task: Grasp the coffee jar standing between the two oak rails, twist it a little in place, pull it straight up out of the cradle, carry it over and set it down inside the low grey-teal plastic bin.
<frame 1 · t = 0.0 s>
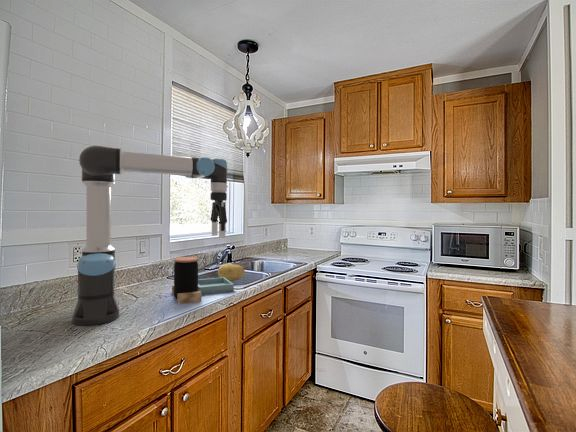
hand: (218, 236, 154), 28 cm above the worktop, fingers open, 13 cm apart
bin: (212, 288, 166), on the worktop
coffee jar: (186, 297, 150), on the worktop
potato: (230, 281, 185), on the worktop
oak cradle: (186, 296, 150), on the worktop
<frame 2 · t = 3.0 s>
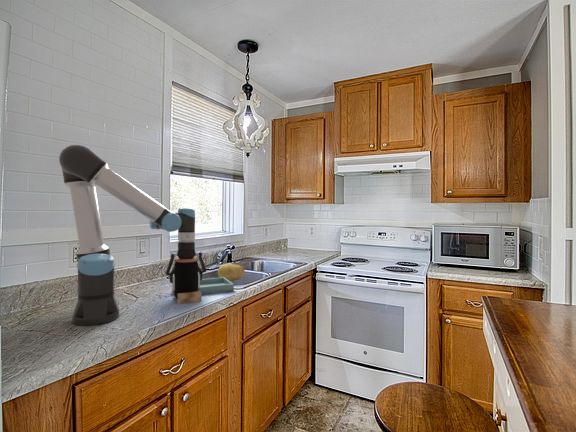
hand: (186, 288, 150), 4 cm above the worktop, fingers closed on coffee jar, 11 cm apart
coffee jar: (186, 297, 150), on the worktop, touching gripper
everything else where it was.
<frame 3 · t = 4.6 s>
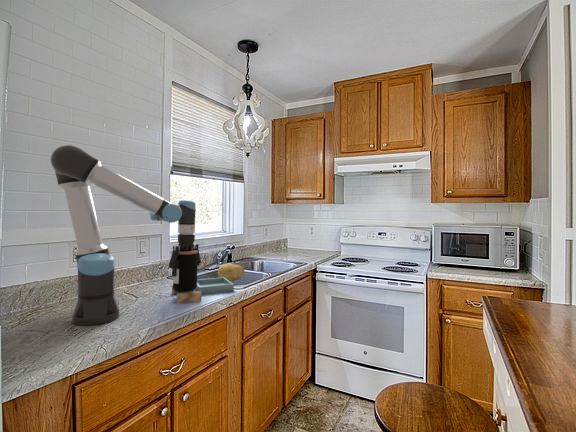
hand: (185, 281, 150), 8 cm above the worktop, fingers closed on coffee jar, 11 cm apart
coffee jar: (184, 289, 150), point 3 cm above the worktop, touching gripper
everything else where it was.
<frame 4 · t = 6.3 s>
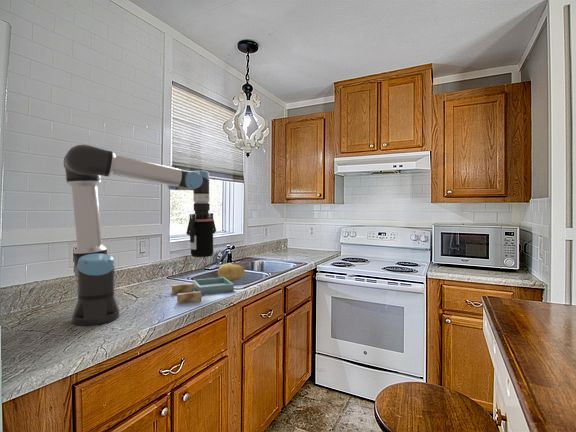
hand: (202, 247, 158), 22 cm above the worktop, fingers closed on coffee jar, 11 cm apart
coffee jar: (202, 256, 158), point 18 cm above the worktop, touching gripper
everything else where it was.
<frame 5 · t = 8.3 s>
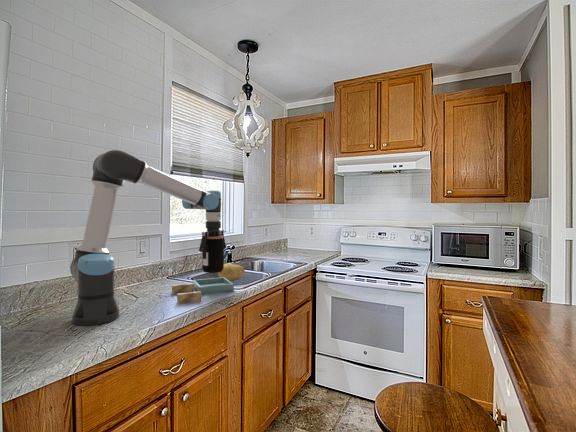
hand: (213, 263, 166), 13 cm above the worktop, fingers closed on coffee jar, 11 cm apart
coffee jar: (213, 271, 166), point 9 cm above the worktop, touching gripper
everything else where it was.
when the fingers open (7 cm above the worktop, at t = 10.0 s): coffee jar drops 2 cm, resting on bin.
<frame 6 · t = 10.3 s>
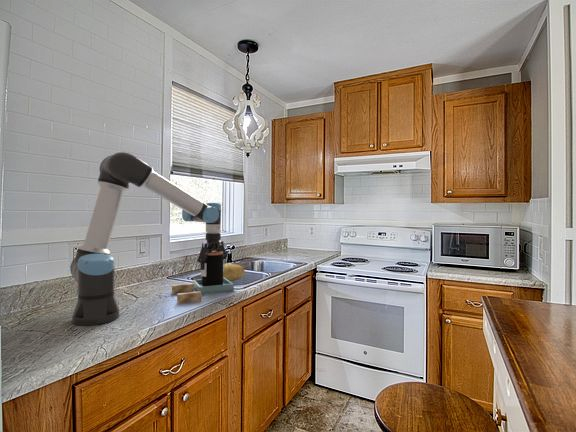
hand: (212, 273, 166), 8 cm above the worktop, fingers open, 13 cm apart
coffee jar: (212, 287, 166), point 1 cm above the worktop, touching bin
everything else where it was.
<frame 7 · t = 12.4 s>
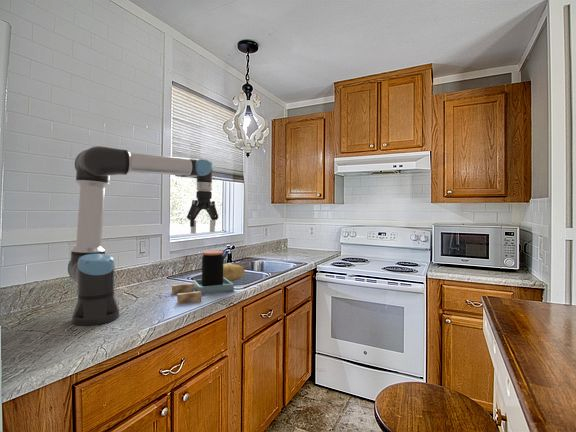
hand: (203, 232, 164), 29 cm above the worktop, fingers open, 13 cm apart
nothing on the worktop moved.
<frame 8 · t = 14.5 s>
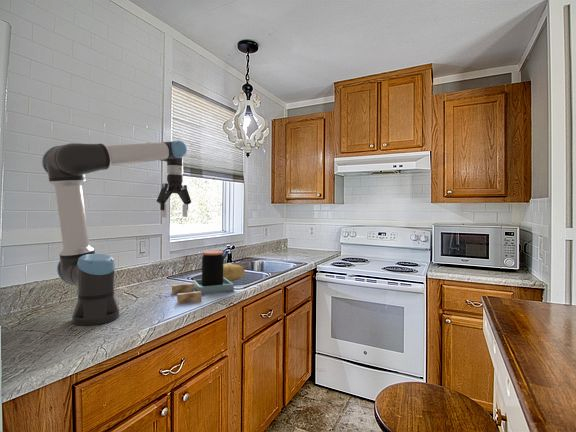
hand: (174, 217, 162), 37 cm above the worktop, fingers open, 13 cm apart
nothing on the worktop moved.
at the end: coffee jar inside the target area on the bin (0.1 cm from its centre), point 0.8 cm above the bin's base; coffee jar tilted 0°; the gripper is holding nothing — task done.
